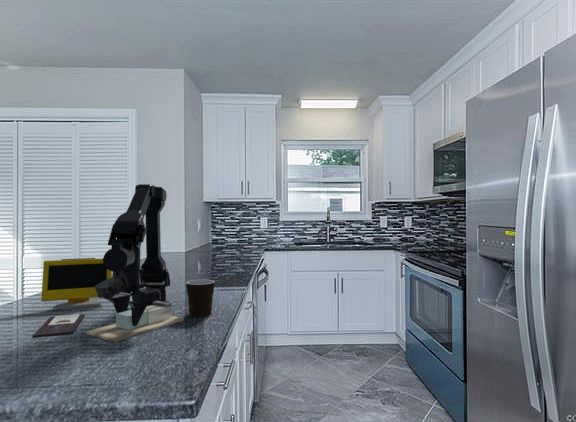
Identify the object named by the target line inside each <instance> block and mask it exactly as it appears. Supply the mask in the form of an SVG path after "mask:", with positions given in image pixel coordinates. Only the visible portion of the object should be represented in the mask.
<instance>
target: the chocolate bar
mask: <svg viewBox="0 0 576 422" xmlns="http://www.w3.org/2000/svg"><path fill="white" fill-rule="evenodd" d="M85 317H86V314H84V313H82V314H71V315H70V314H69V315H61V316H60V315H57V316H50V317H49V318H48V319H47V320H46V321H45V322H44V323H42V325H41V326H40V327H39V328H38V329H37V330H36V332H35V333H33V334H32V338H34V339H35V338H42V337H45V338H46V337H53V336H54V337H55V336H64V335H66V336H67V335H74V334H75V332H76V331H77V329H78V328H79V326H80V324H81V323H82V321H83V320H84V319H85Z"/></svg>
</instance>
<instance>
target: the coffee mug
mask: <svg viewBox="0 0 576 422" xmlns="http://www.w3.org/2000/svg"><path fill="white" fill-rule="evenodd" d="M215 283H216V281H215V280H214V279H213V280H212V279H193V280H191V279H190V280H188V281H186V282H185V286H186V293H187V302H188V303H187V304H188V312H189V316H190V317H192V318H206V317H210V316H211V315H212V309H213V300H214V291H215Z"/></svg>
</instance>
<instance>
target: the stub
mask: <svg viewBox="0 0 576 422" xmlns="http://www.w3.org/2000/svg"><path fill="white" fill-rule="evenodd" d="M115 323H116V327H119V328H123V329H127V330H129V329H132V328H136V327H139V326H142V325H146V324H147V311H144V312H143V314H142V316H141V319H140V321H139V323H138V325H137V326H133V324H132V313H131V309H129V310H127V311H124V312H120V313H117V312H116V313H115Z"/></svg>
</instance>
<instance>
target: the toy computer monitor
mask: <svg viewBox="0 0 576 422" xmlns="http://www.w3.org/2000/svg"><path fill="white" fill-rule="evenodd" d="M112 276H113V271H110V270H108V269H107V268H106V267H105V266H104V264H103V258H96V257H87V258H85V257H84V258H83V257H82V258H81V257H79V258H78V257H77V258H62V259H60V260H56V259H55V260H44V261H43V268H42V283H41V284H42V285H41V286H42V287H41V299H40V301H41V302H57V301H61V302H59V303H57V304H55V305H54V306H53V307H52V310H53V311H59V310H60V311H61V310H62V311H63V310H72V309H73V310H74V309H83V308H96V307H102V303H101V301H100V300H98V299H97V298H99V297H98V295H97V292H96V289H95V286H96V285H97V284H99V283H101V282H103V281H105V280H106V279H109V278H111V277H112Z"/></svg>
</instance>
